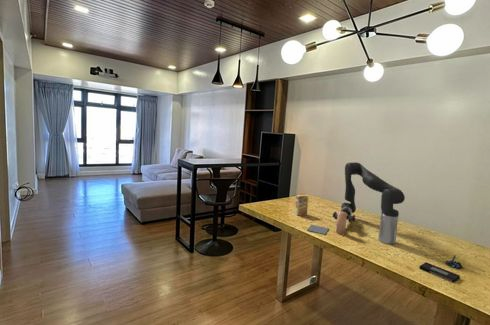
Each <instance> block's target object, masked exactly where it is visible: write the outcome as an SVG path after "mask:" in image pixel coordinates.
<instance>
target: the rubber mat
mask: <svg viewBox="0 0 490 325" xmlns="http://www.w3.org/2000/svg"><path fill="white" fill-rule="evenodd" d="M329 230H330V228H328V227H324V226H319V225H315V224H310V226H309V227H308V228H307V229H306V231H307V232H310V233H315V234H320V235H325V236H326V234H327V233H328V231H329Z"/></svg>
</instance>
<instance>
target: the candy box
mask: <svg viewBox="0 0 490 325" xmlns="http://www.w3.org/2000/svg"><path fill="white" fill-rule="evenodd" d="M308 205H309V196H308V195H307V194H300V195H299V194H297V195H295V206H294V207H295V208H294V210H295V211H294V214H295V215H296V216H307V215H308V208H309V206H308Z"/></svg>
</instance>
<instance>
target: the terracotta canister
mask: <svg viewBox="0 0 490 325" xmlns="http://www.w3.org/2000/svg"><path fill="white" fill-rule="evenodd" d="M337 213H338V215H337V217H338V218H337V220H336V227H335V228H336V229H335V233H336V234H337V235H341V236H345V234H346V225H347V220H346V217H347V213H346V212H342V211H341V210H340V211H337Z"/></svg>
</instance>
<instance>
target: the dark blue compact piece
mask: <svg viewBox="0 0 490 325" xmlns="http://www.w3.org/2000/svg"><path fill="white" fill-rule="evenodd" d="M455 259H456V254H454V255H453V257H452V259H451V260H445V264H447V265H448V266H449V267H453V268H454V269H457V270H459V269H463V265H462V263H461V262H460V261H456V260H455Z"/></svg>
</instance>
